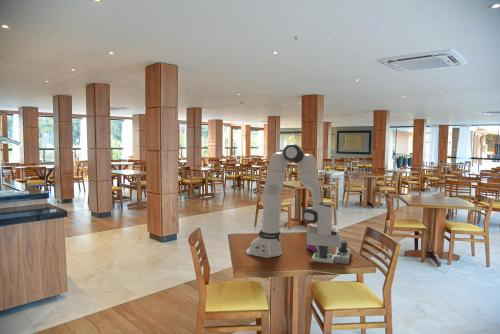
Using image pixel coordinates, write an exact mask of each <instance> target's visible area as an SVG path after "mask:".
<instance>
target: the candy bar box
mask: <svg viewBox="0 0 500 334" xmlns="http://www.w3.org/2000/svg"><path fill="white" fill-rule="evenodd" d="M309 229H312V230H313V229H314V230H317V224H315V223H307V224H306V232H305V233H306V235H305V236H306V237H305V238H306V240H305V241H306V242H305V243H306V244H305V248H306V249H308V250H310V251H312V252H314V253H318V250H317V248H316V245H308V244H307V230H309ZM318 248H319V247H318Z"/></svg>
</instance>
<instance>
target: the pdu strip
mask: <svg viewBox="0 0 500 334" xmlns="http://www.w3.org/2000/svg"><path fill="white" fill-rule="evenodd" d="M339 249H340V248H336V250H335V254H334V255H335V256H334V261H333V263H338V264H345V265H349V262H350V256H351V248H350V247H347V252H342V251H339Z"/></svg>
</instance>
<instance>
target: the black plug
mask: <svg viewBox="0 0 500 334" xmlns="http://www.w3.org/2000/svg"><path fill="white" fill-rule="evenodd" d="M319 250H320V258H324V259H327V251H328V250H329V247H326V246H319Z"/></svg>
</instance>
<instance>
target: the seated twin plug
mask: <svg viewBox="0 0 500 334" xmlns="http://www.w3.org/2000/svg"><path fill="white" fill-rule="evenodd" d="M348 242H349V241H348V240H342V239H341V247H340V249H339V251H342V252H347V248H348Z"/></svg>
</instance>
